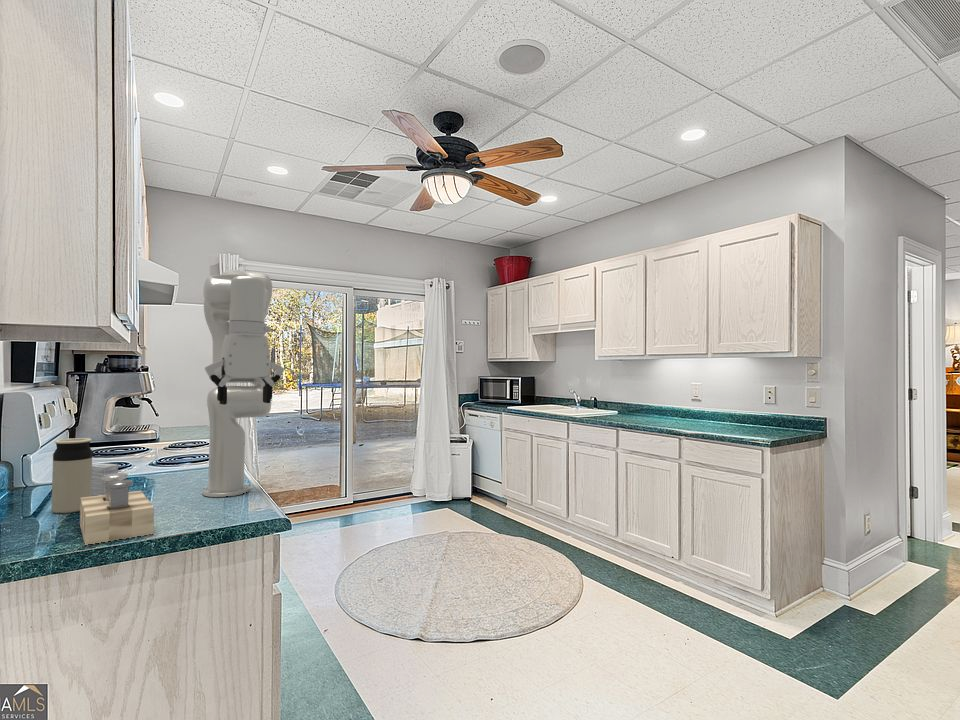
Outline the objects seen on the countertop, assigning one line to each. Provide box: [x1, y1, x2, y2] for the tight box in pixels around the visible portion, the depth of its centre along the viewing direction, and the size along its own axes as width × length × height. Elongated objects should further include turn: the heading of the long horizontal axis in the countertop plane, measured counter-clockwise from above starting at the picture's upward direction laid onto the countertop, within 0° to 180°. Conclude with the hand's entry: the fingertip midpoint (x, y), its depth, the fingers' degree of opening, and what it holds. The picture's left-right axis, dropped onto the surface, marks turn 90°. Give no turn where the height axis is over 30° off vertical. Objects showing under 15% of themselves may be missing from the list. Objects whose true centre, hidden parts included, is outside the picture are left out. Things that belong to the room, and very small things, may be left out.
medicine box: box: [91, 462, 119, 496], centre depth 149 cm, size 8×4×9 cm, turn 77°
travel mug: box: [50, 437, 93, 514], centre depth 133 cm, size 8×8×18 cm
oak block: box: [79, 490, 155, 546], centre depth 118 cm, size 20×12×6 cm, turn 40°
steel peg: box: [101, 472, 129, 501], centre depth 122 cm, size 5×5×7 cm
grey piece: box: [105, 479, 134, 510], centre depth 114 cm, size 5×5×7 cm
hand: (245, 403), depth 120 cm, fingers open, 9 cm apart
